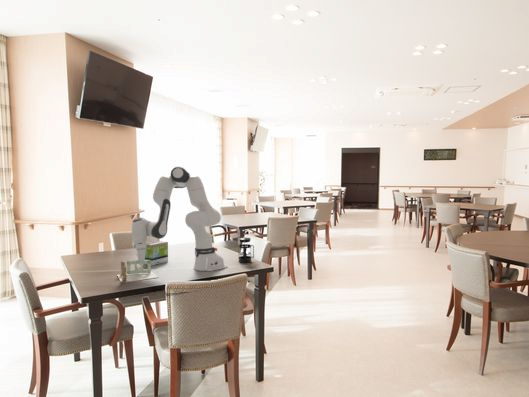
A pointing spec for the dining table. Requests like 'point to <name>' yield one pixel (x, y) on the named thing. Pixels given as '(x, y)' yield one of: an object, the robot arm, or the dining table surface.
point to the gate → (136, 267)
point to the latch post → (124, 275)
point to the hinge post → (122, 266)
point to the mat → (139, 276)
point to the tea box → (156, 252)
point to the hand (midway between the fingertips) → (140, 264)
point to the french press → (245, 258)
